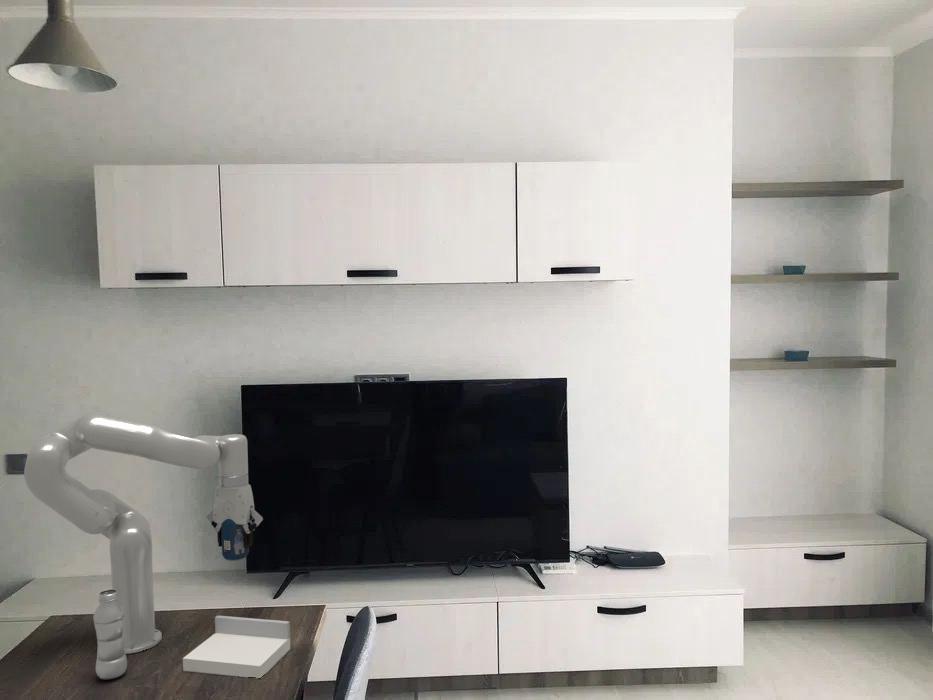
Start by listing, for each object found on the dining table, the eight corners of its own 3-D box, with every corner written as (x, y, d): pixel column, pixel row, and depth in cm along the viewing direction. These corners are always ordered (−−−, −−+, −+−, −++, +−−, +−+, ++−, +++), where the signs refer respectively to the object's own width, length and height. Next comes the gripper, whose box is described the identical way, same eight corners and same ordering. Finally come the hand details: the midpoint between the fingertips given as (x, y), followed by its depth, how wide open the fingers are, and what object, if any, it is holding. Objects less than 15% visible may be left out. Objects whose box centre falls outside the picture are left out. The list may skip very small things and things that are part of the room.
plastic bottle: (115, 684, 164) (111, 598, 163) (89, 682, 165) (85, 596, 164) (133, 670, 170) (130, 587, 169) (108, 668, 171) (105, 586, 170)
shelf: (183, 670, 170) (182, 641, 169) (218, 642, 184) (217, 615, 184) (260, 678, 165) (259, 649, 165) (290, 648, 180) (289, 621, 180)
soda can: (233, 552, 199) (232, 509, 199) (254, 554, 197) (253, 511, 196) (216, 560, 193) (215, 515, 192) (237, 563, 190) (236, 518, 190)
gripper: (196, 482, 192) (198, 548, 193) (256, 485, 188) (257, 552, 189) (212, 476, 199) (214, 539, 200) (270, 478, 195) (271, 543, 196)
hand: (235, 545), depth 194 cm, fingers closed on soda can, 7 cm apart
